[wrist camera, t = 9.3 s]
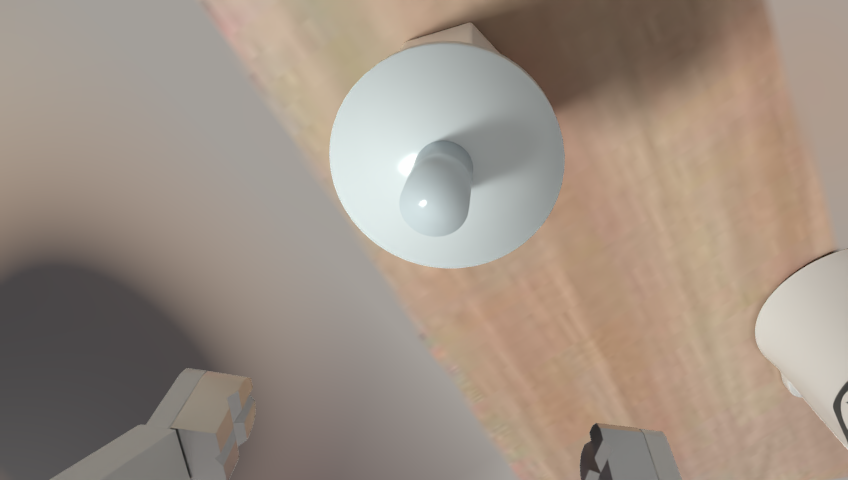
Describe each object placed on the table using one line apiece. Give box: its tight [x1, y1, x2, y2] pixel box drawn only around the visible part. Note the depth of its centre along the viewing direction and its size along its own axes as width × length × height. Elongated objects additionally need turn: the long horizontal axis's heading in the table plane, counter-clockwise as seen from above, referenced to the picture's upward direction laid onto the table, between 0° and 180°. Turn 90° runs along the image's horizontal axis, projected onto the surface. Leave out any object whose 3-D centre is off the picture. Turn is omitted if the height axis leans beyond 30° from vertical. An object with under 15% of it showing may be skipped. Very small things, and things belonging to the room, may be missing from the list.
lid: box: [329, 41, 565, 268], centre depth 22 cm, size 11×11×5 cm
